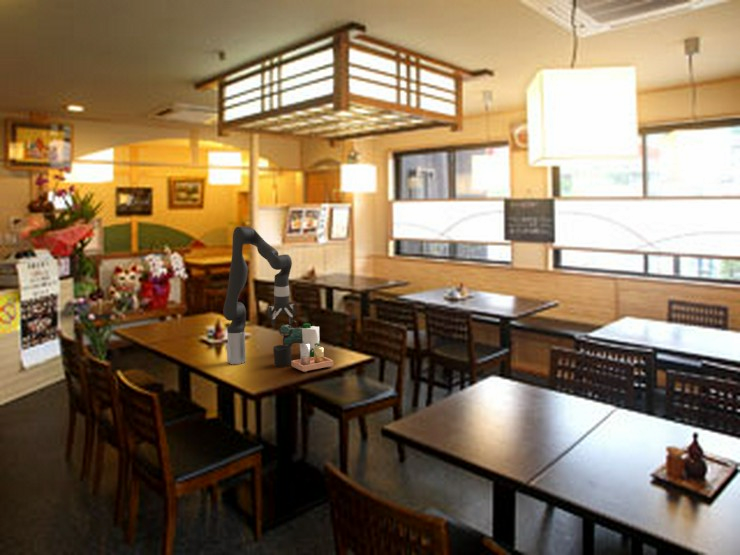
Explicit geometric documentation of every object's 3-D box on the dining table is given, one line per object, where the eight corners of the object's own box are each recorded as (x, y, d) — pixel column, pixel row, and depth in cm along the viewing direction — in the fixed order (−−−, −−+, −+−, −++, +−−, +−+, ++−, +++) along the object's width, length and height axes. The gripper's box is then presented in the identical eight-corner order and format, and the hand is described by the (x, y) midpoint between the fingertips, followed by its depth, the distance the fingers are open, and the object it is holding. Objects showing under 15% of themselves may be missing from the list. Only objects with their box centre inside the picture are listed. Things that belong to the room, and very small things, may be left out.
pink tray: (302, 373, 274) (302, 366, 274) (291, 368, 285) (291, 360, 284) (333, 367, 284) (333, 360, 284) (321, 362, 295) (321, 355, 294)
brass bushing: (317, 364, 283) (316, 349, 282) (312, 362, 287) (312, 347, 286) (325, 362, 286) (325, 347, 285) (320, 360, 290) (320, 345, 289)
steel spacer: (303, 366, 279) (302, 345, 277) (298, 364, 283) (298, 343, 281) (311, 364, 281) (311, 344, 280) (307, 362, 285) (306, 342, 284)
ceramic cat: (279, 354, 313) (278, 320, 311) (284, 351, 319) (282, 318, 317) (312, 356, 308) (311, 321, 306) (315, 353, 315) (314, 319, 312)
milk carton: (306, 356, 307) (305, 322, 305) (321, 357, 305) (320, 322, 303) (301, 360, 299) (300, 325, 296) (317, 361, 297) (316, 325, 295)
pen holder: (288, 361, 298) (287, 343, 296) (294, 365, 289) (293, 347, 288) (271, 364, 293) (271, 346, 292) (277, 368, 285) (276, 349, 284)
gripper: (293, 291, 278) (293, 321, 282) (265, 293, 272) (266, 324, 276) (297, 294, 272) (297, 325, 275) (269, 297, 266) (270, 328, 269)
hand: (282, 324), depth 276 cm, fingers open, 8 cm apart
